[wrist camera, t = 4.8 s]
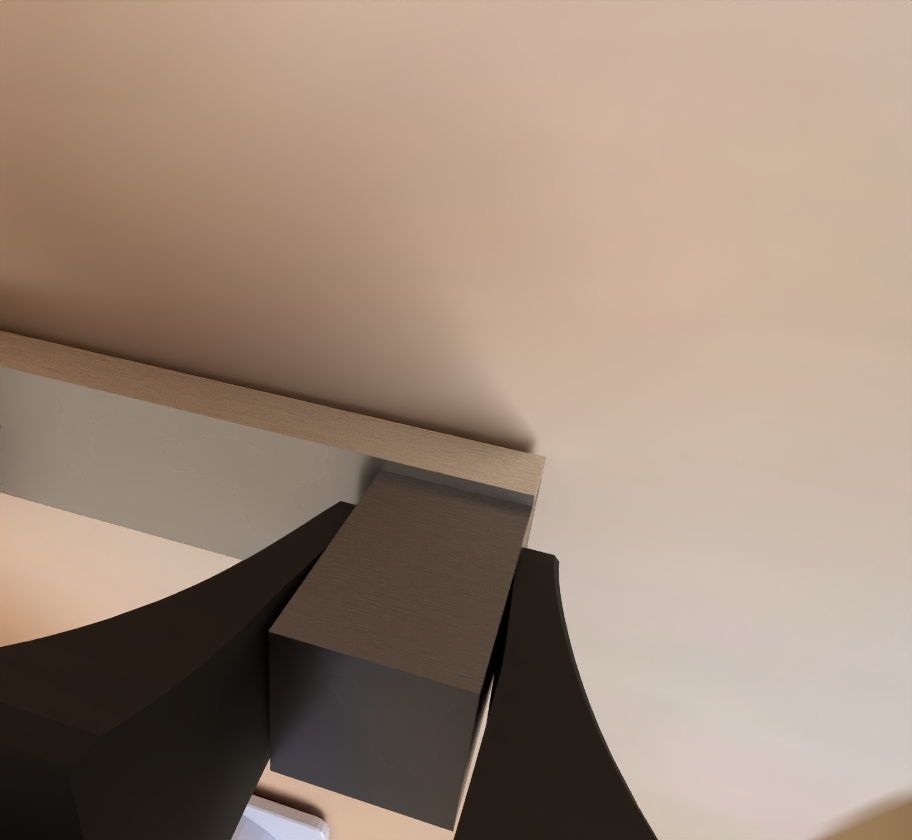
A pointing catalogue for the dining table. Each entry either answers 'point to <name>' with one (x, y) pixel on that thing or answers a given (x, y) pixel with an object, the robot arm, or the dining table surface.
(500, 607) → the grey l-shaped bar
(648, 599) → the dining table surface
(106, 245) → the dining table surface
